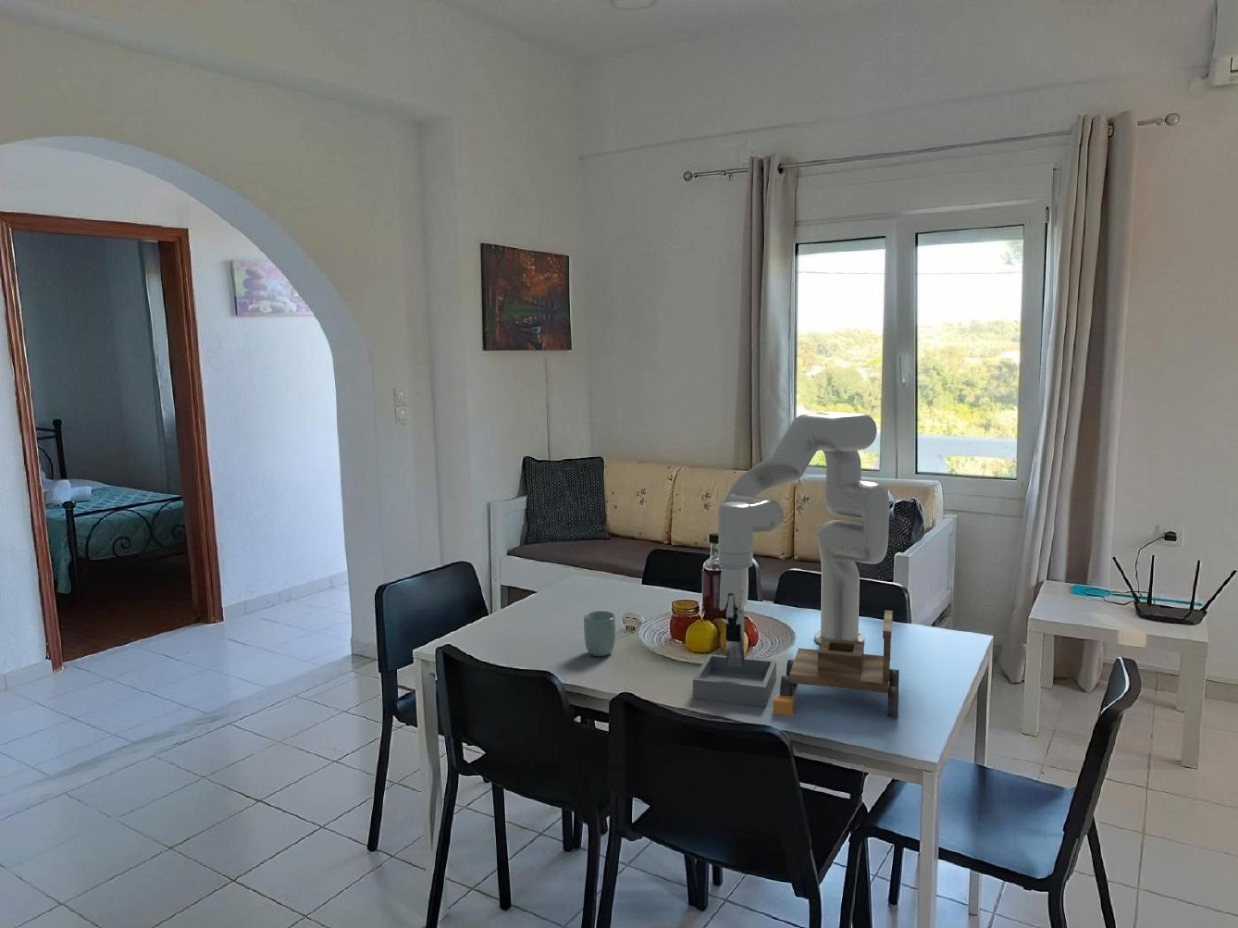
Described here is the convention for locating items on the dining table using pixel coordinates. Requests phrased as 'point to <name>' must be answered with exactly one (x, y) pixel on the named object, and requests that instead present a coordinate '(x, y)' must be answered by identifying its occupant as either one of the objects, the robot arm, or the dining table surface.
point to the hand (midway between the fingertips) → (735, 636)
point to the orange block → (783, 705)
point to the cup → (599, 632)
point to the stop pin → (736, 647)
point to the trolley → (845, 668)
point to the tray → (735, 681)
